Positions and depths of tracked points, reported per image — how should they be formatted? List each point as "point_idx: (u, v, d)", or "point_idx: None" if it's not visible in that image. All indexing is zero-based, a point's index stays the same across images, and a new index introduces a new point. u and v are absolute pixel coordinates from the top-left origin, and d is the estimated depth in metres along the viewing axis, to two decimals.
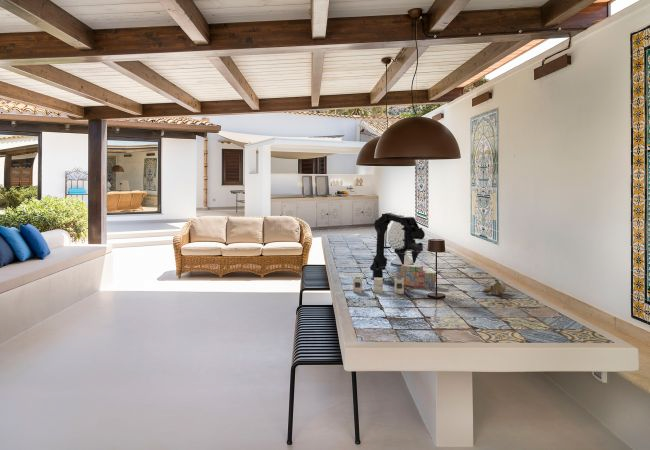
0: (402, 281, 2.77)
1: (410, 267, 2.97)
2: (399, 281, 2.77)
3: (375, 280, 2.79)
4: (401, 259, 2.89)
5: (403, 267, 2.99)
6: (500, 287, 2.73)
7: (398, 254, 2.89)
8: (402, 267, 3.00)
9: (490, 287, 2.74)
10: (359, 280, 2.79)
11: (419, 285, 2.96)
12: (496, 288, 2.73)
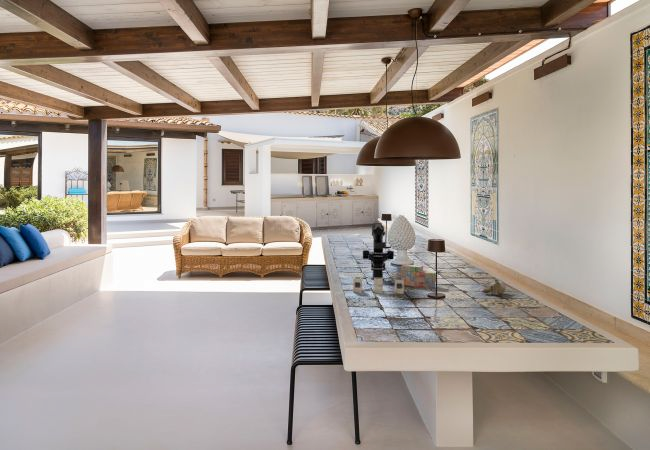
0: (402, 281, 2.77)
1: (410, 267, 2.97)
2: (399, 281, 2.77)
3: (375, 280, 2.79)
4: (372, 262, 2.92)
5: (403, 267, 2.99)
6: (500, 287, 2.73)
7: (371, 259, 2.95)
8: (402, 267, 3.00)
9: (490, 287, 2.74)
10: (359, 280, 2.79)
11: (419, 285, 2.96)
12: (496, 288, 2.72)
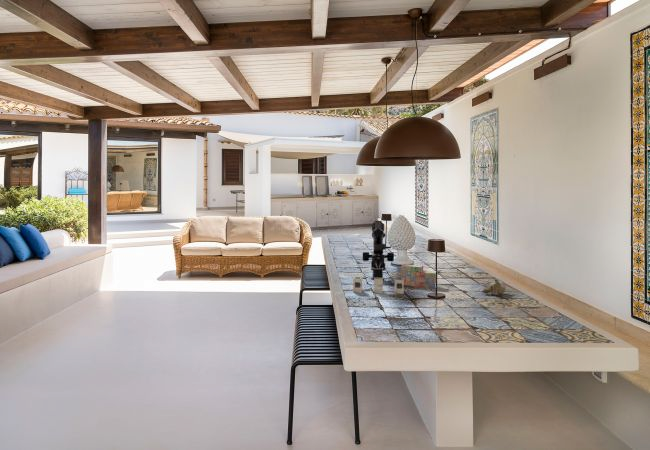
0: (402, 281, 2.77)
1: (410, 267, 2.97)
2: (399, 281, 2.77)
3: (375, 280, 2.79)
4: (376, 264, 2.88)
5: (403, 267, 2.99)
6: (500, 287, 2.73)
7: (374, 261, 2.91)
8: (402, 267, 3.00)
9: (490, 287, 2.74)
10: (359, 280, 2.79)
11: (419, 285, 2.96)
12: (496, 288, 2.72)
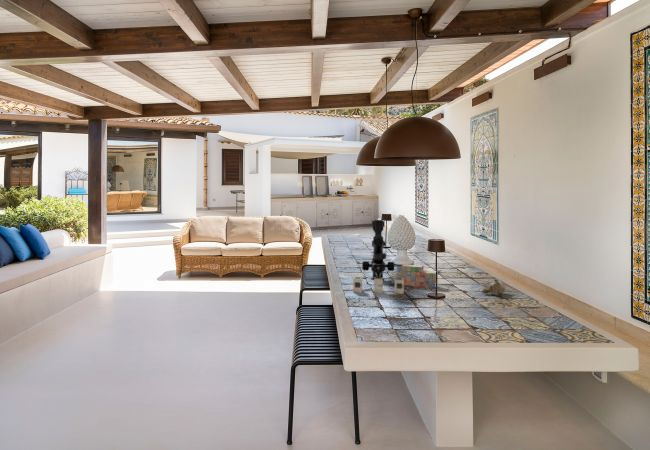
0: (402, 281, 2.77)
1: (411, 267, 2.97)
2: (399, 281, 2.77)
3: (375, 280, 2.78)
4: (376, 273, 2.83)
5: (404, 267, 2.99)
6: (500, 287, 2.73)
7: (374, 271, 2.86)
8: (403, 267, 3.00)
9: (490, 287, 2.74)
10: (359, 280, 2.79)
11: (420, 285, 2.96)
12: (496, 288, 2.72)
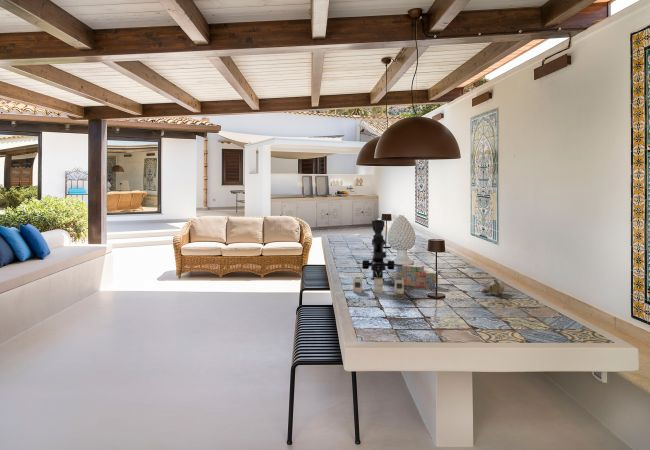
0: (402, 281, 2.77)
1: (411, 267, 2.97)
2: (399, 281, 2.77)
3: (375, 280, 2.79)
4: (376, 272, 2.83)
5: (404, 267, 2.99)
6: (499, 287, 2.73)
7: (374, 270, 2.86)
8: (403, 267, 3.00)
9: (489, 287, 2.74)
10: (359, 280, 2.79)
11: (420, 285, 2.95)
12: (495, 288, 2.72)
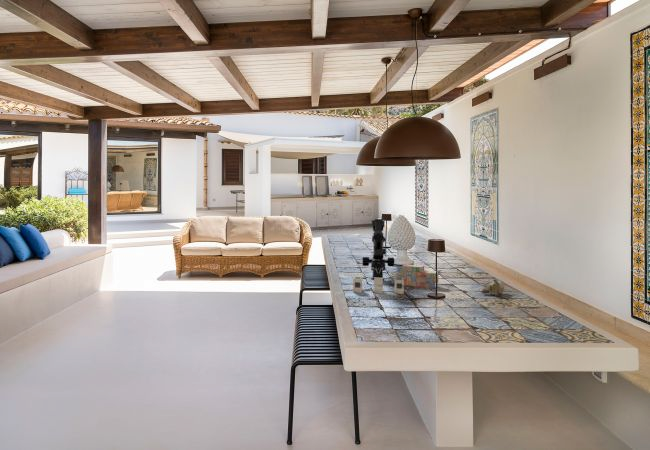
0: (402, 281, 2.77)
1: (411, 267, 2.97)
2: (399, 281, 2.77)
3: (375, 280, 2.79)
4: (376, 269, 2.83)
5: (404, 267, 2.99)
6: (499, 287, 2.73)
7: (374, 266, 2.86)
8: (403, 267, 3.00)
9: (489, 287, 2.74)
10: (359, 280, 2.79)
11: (420, 285, 2.95)
12: (495, 288, 2.72)
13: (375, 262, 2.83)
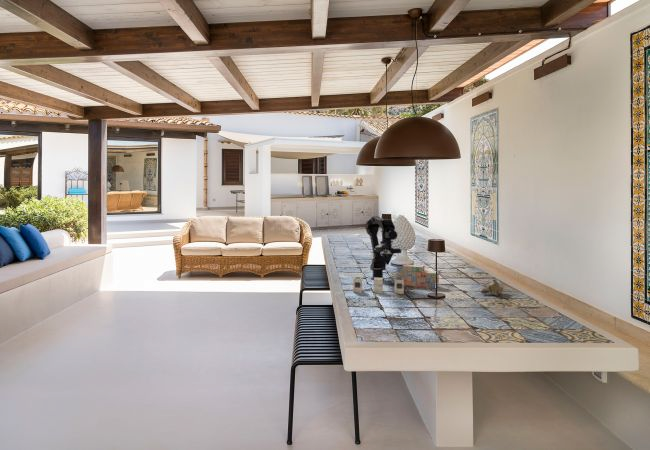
0: (402, 281, 2.77)
1: (412, 267, 2.97)
2: (399, 281, 2.77)
3: (375, 280, 2.79)
4: None
5: (405, 267, 2.99)
6: (498, 287, 2.73)
7: None
8: (404, 267, 3.00)
9: (488, 287, 2.74)
10: (359, 280, 2.79)
11: (421, 285, 2.95)
12: (494, 288, 2.72)
13: (382, 254, 3.00)
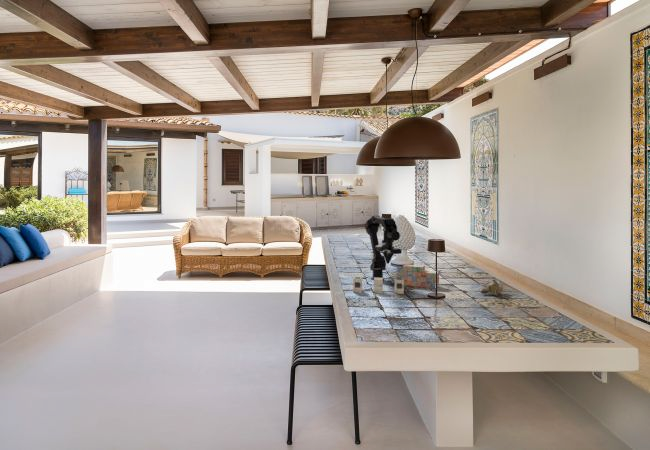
0: (402, 281, 2.77)
1: (412, 267, 2.97)
2: (399, 281, 2.77)
3: (375, 280, 2.79)
4: None
5: (405, 267, 2.99)
6: (498, 287, 2.73)
7: None
8: (404, 267, 3.00)
9: (488, 287, 2.74)
10: (359, 280, 2.79)
11: (421, 285, 2.95)
12: (494, 288, 2.72)
13: (383, 253, 3.01)
